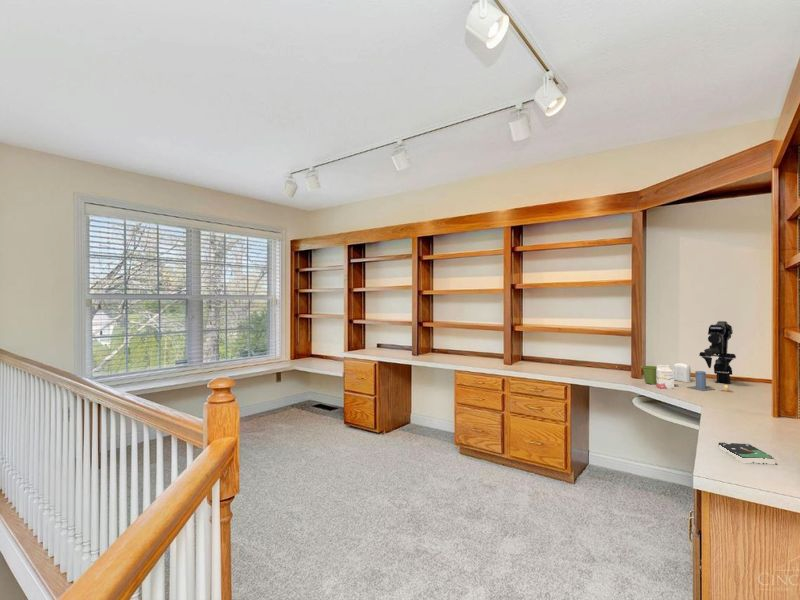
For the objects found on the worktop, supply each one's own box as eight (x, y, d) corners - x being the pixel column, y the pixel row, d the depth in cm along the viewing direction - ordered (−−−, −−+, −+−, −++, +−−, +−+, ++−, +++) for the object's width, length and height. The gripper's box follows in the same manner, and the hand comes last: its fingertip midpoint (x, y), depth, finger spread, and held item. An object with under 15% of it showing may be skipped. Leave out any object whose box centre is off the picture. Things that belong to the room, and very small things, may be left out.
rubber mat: (687, 389, 250) (686, 387, 250) (699, 388, 253) (699, 385, 253) (702, 392, 241) (702, 390, 241) (715, 391, 243) (715, 388, 243)
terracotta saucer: (716, 392, 241) (715, 384, 241) (725, 391, 242) (724, 383, 242) (728, 394, 234) (728, 386, 234) (737, 393, 236) (736, 385, 236)
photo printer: (692, 382, 270) (691, 364, 271) (687, 382, 269) (686, 364, 269) (677, 379, 280) (676, 362, 280) (672, 380, 279) (672, 362, 279)
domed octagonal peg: (694, 387, 250) (693, 371, 250) (702, 387, 249) (702, 371, 249) (699, 388, 245) (698, 372, 245) (708, 388, 244) (707, 372, 244)
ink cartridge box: (659, 388, 255) (658, 365, 255) (656, 387, 259) (655, 364, 260) (674, 388, 253) (673, 365, 253) (671, 387, 258) (670, 364, 258)
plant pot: (666, 384, 266) (666, 367, 266) (651, 385, 264) (651, 368, 264) (651, 381, 278) (651, 365, 278) (637, 382, 275) (636, 366, 275)
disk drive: (717, 449, 153) (742, 464, 139) (717, 442, 153) (742, 456, 139) (748, 450, 151) (777, 466, 136) (748, 443, 151) (776, 458, 136)
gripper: (693, 343, 262) (693, 366, 260) (723, 344, 244) (723, 369, 242) (705, 344, 265) (705, 367, 263) (736, 345, 247) (736, 370, 245)
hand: (717, 368), depth 254 cm, fingers open, 9 cm apart
